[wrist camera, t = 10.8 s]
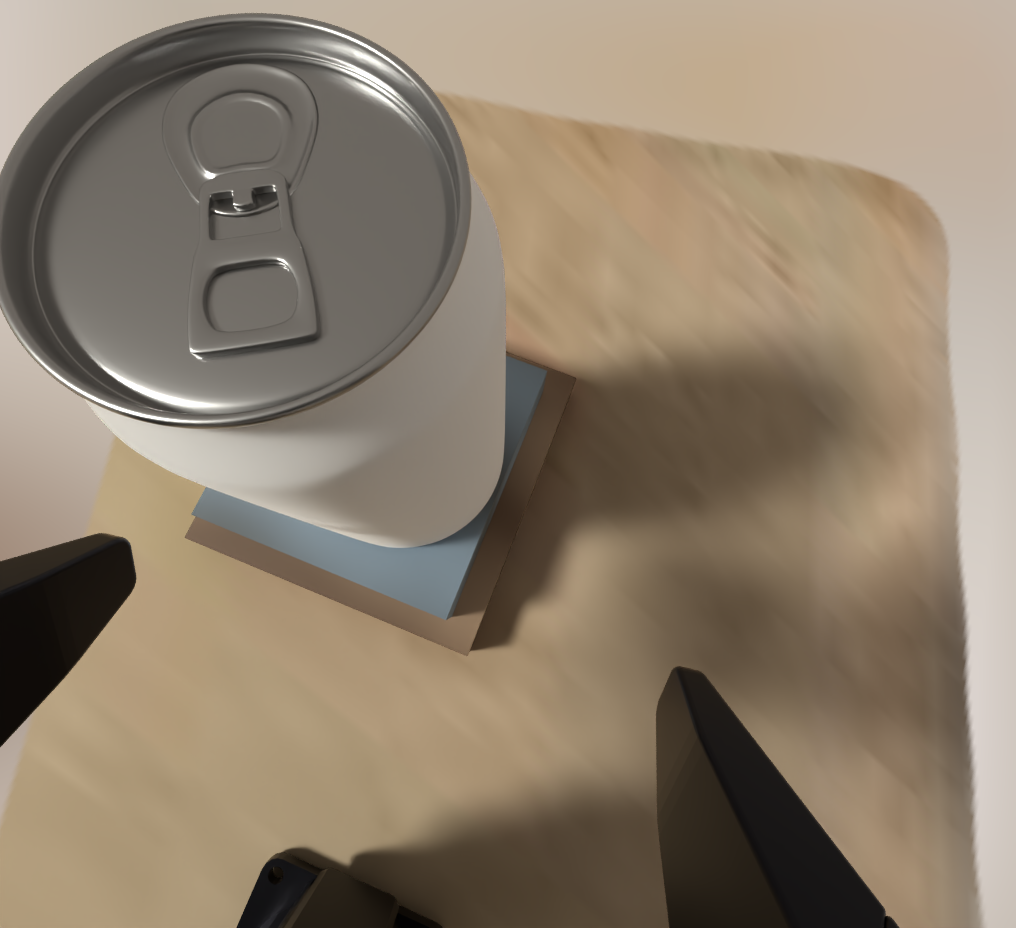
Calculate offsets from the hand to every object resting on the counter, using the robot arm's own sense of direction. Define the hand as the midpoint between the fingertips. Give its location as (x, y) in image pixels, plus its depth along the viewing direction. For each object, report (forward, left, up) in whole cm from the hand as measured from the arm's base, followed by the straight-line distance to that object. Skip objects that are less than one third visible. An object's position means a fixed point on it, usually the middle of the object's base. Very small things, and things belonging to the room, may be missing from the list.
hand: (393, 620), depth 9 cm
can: (+4, +3, -9) cm, 10 cm away
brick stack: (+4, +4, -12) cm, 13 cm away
